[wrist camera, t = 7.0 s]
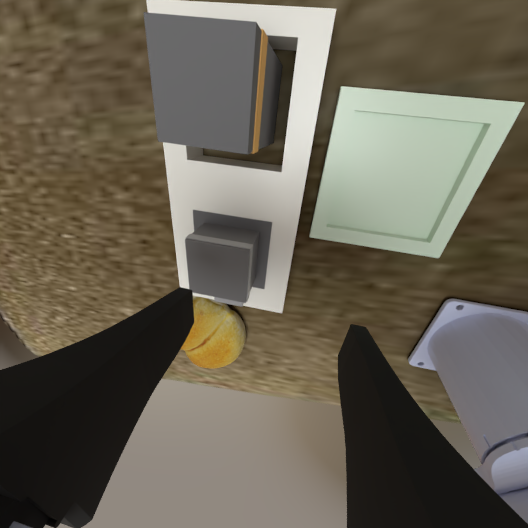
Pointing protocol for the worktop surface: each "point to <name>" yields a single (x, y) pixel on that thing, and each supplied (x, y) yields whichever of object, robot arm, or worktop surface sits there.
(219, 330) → the bread roll
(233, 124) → the plug
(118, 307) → the worktop surface
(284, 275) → the strip
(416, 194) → the tray
